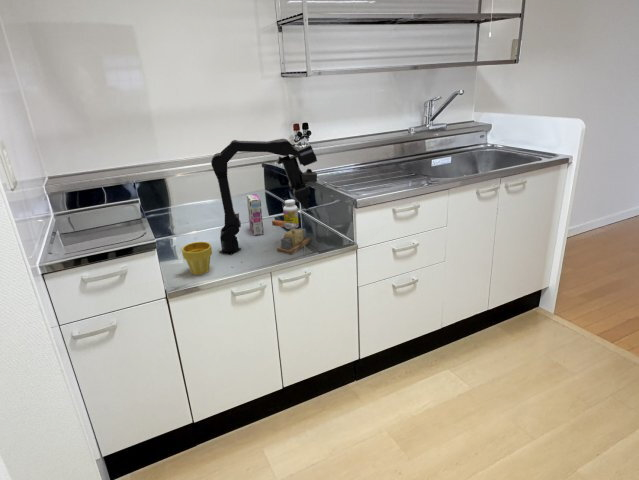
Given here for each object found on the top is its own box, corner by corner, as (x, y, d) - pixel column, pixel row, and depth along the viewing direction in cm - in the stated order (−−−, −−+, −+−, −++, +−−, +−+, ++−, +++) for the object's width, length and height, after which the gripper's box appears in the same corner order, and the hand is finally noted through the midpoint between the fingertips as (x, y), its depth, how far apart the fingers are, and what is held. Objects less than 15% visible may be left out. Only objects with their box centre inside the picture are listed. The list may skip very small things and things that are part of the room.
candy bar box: (264, 234, 185) (260, 199, 179) (253, 236, 184) (249, 201, 177) (260, 226, 195) (256, 193, 189) (249, 228, 194) (245, 194, 187)
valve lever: (297, 227, 168) (297, 222, 167) (294, 229, 166) (293, 224, 165) (275, 223, 173) (274, 219, 172) (271, 225, 171) (271, 221, 170)
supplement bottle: (281, 228, 191) (279, 202, 186) (289, 224, 197) (287, 198, 192) (294, 230, 188) (292, 203, 183) (301, 225, 194) (299, 199, 189)
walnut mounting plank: (291, 254, 163) (291, 251, 162) (277, 251, 166) (276, 248, 166) (310, 241, 175) (310, 238, 174) (297, 238, 178) (296, 235, 177)
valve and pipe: (289, 250, 163) (288, 234, 161) (279, 248, 165) (278, 232, 163) (307, 238, 174) (306, 223, 172) (298, 236, 177) (297, 221, 174)
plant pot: (218, 272, 151) (214, 247, 147) (190, 279, 146) (185, 254, 143) (210, 262, 159) (206, 239, 156) (183, 269, 155) (178, 245, 151)
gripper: (316, 167, 154) (328, 205, 160) (308, 159, 171) (319, 193, 177) (288, 178, 153) (302, 215, 159) (283, 168, 170) (295, 202, 176)
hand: (305, 205), depth 168 cm, fingers open, 9 cm apart
